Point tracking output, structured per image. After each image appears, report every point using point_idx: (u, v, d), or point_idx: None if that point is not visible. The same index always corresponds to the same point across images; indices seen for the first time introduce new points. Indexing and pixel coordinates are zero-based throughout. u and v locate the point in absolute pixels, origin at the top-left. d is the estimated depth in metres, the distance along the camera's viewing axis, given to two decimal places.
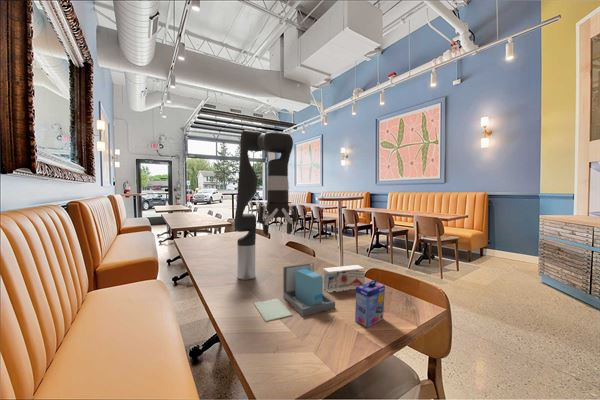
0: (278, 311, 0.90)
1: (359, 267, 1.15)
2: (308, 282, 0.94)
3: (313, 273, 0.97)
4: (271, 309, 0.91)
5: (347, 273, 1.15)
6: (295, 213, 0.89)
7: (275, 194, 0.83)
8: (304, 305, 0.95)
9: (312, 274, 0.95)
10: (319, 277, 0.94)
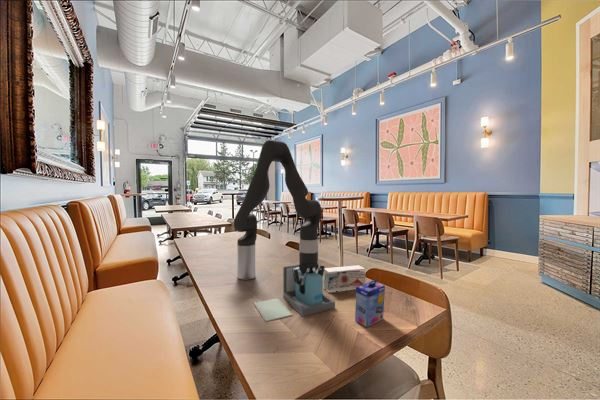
0: (278, 311, 0.90)
1: (360, 267, 1.15)
2: (308, 282, 0.94)
3: (313, 273, 0.97)
4: (271, 309, 0.91)
5: (348, 273, 1.14)
6: (322, 272, 0.99)
7: (308, 256, 0.94)
8: (304, 305, 0.95)
9: (312, 274, 0.95)
10: (319, 277, 0.94)
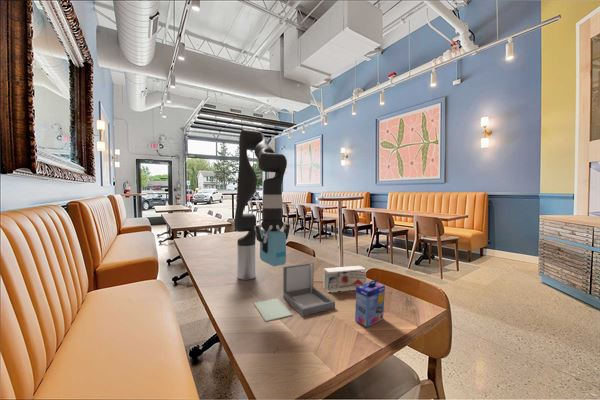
0: (278, 311, 0.90)
1: (360, 268, 1.14)
2: (270, 239, 0.88)
3: (277, 231, 0.91)
4: (271, 309, 0.91)
5: (348, 274, 1.14)
6: (287, 231, 0.93)
7: (270, 212, 0.88)
8: (304, 305, 0.95)
9: (275, 231, 0.89)
10: (282, 234, 0.88)
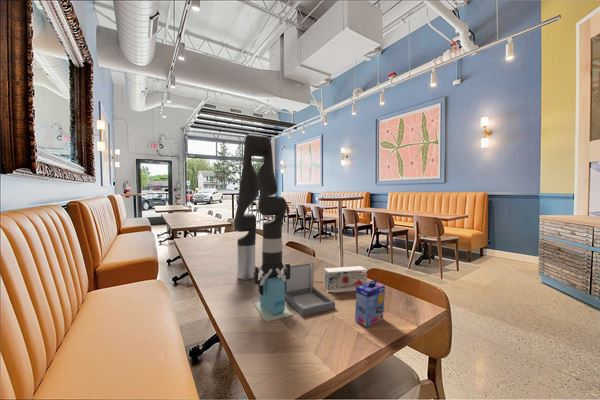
0: None
1: (361, 268, 1.13)
2: (269, 287, 0.89)
3: (276, 278, 0.91)
4: None
5: (349, 274, 1.13)
6: (288, 271, 0.94)
7: (270, 256, 0.88)
8: (304, 305, 0.95)
9: (274, 279, 0.89)
10: (280, 283, 0.88)
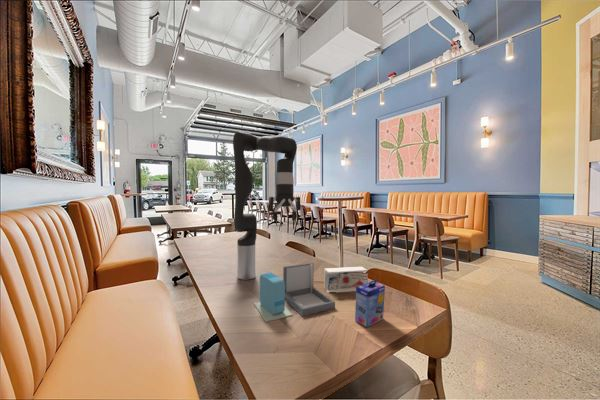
0: None
1: (362, 269, 1.12)
2: (269, 287, 0.89)
3: (276, 278, 0.91)
4: None
5: (349, 274, 1.13)
6: (299, 203, 1.08)
7: (283, 187, 1.03)
8: (304, 305, 0.95)
9: (274, 279, 0.89)
10: (280, 283, 0.88)
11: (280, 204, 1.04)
